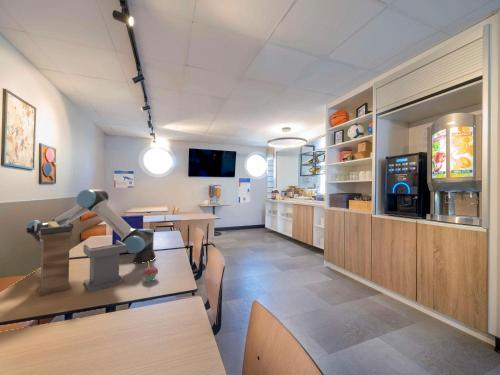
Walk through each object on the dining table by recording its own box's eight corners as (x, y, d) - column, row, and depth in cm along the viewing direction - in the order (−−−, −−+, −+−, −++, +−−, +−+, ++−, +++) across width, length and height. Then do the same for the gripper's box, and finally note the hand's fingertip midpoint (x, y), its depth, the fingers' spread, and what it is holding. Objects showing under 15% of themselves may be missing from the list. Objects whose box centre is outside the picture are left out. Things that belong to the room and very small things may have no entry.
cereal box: (141, 249, 186) (142, 214, 186) (142, 250, 181) (143, 215, 181) (111, 252, 174) (112, 215, 174) (111, 254, 169) (112, 216, 169)
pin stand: (37, 286, 114) (38, 230, 114) (66, 280, 123) (68, 228, 123) (39, 296, 105) (40, 235, 105) (70, 288, 114) (72, 232, 114)
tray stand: (82, 283, 120) (83, 245, 120) (116, 274, 132) (117, 240, 132) (88, 292, 110) (89, 250, 110) (125, 282, 122) (126, 244, 122)
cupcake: (151, 283, 121) (152, 262, 121) (138, 282, 123) (139, 261, 123) (160, 277, 130) (161, 257, 130) (148, 276, 132) (148, 256, 132)
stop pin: (37, 227, 122) (37, 222, 122) (64, 225, 131) (64, 220, 131) (40, 234, 106) (40, 228, 106) (71, 231, 115) (71, 226, 115)
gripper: (74, 238, 143) (80, 226, 130) (19, 245, 124) (20, 232, 112) (73, 227, 145) (79, 215, 133) (20, 233, 127) (20, 218, 114)
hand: (52, 222), depth 122 cm, fingers open, 13 cm apart
